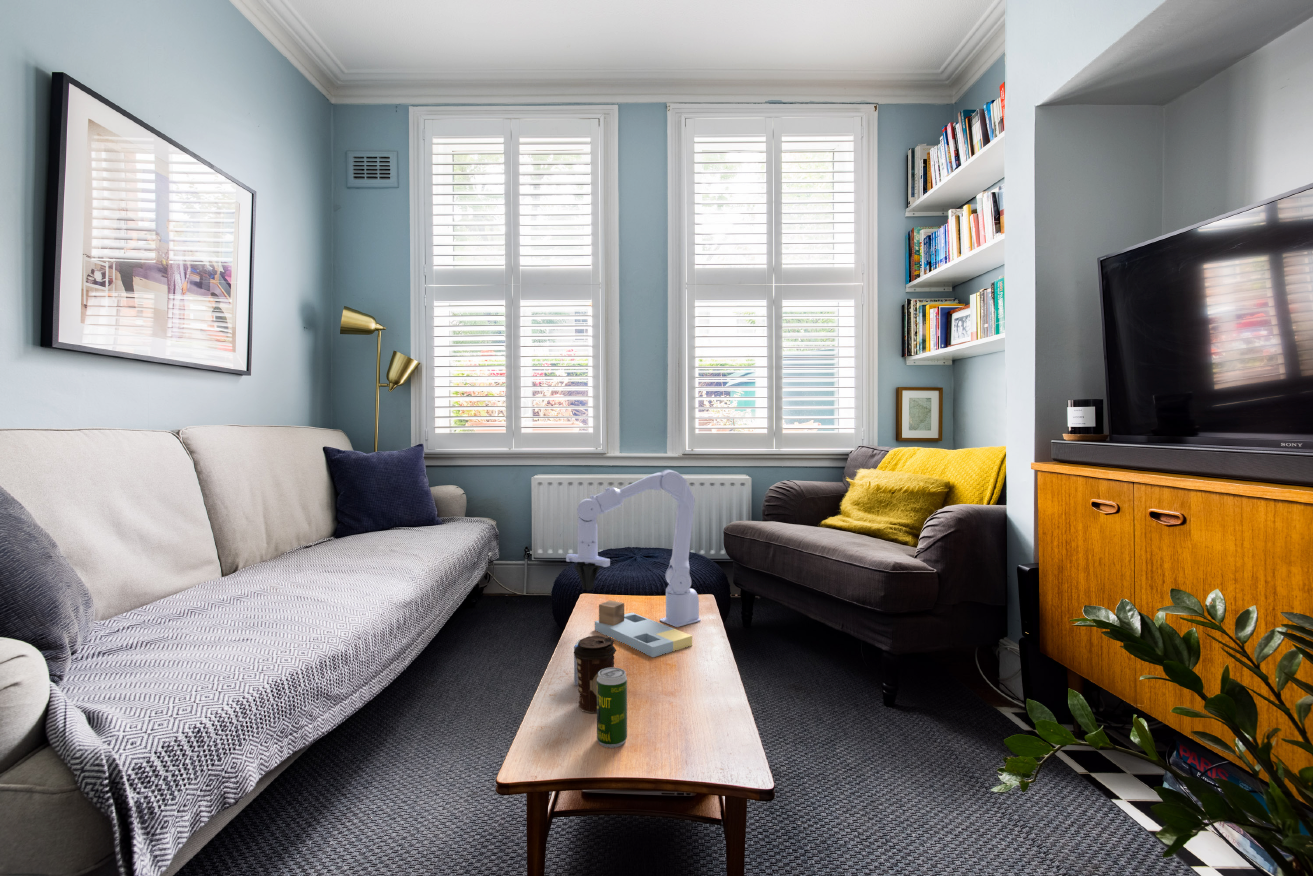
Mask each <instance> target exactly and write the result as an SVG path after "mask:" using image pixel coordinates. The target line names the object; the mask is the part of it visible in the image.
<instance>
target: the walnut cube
mask: <svg viewBox="0 0 1313 876" xmlns="http://www.w3.org/2000/svg"><path fill="white" fill-rule="evenodd" d="M624 614H625V603H624V602H621V601H616V600H608V601H605V602H602V603H600V604H598V620H599V623H603V624H607V625H612V626H614V625H616V624H619V623H621V622H623V621H624Z"/></svg>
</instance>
